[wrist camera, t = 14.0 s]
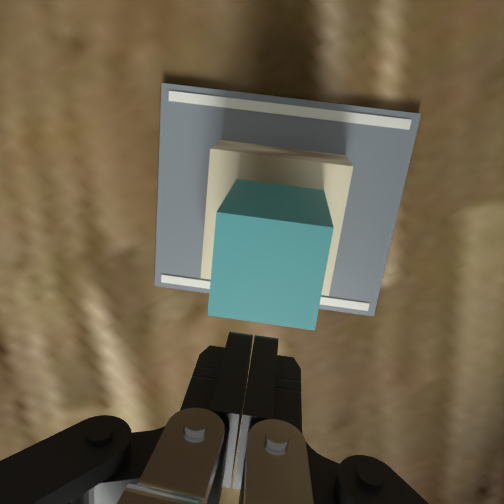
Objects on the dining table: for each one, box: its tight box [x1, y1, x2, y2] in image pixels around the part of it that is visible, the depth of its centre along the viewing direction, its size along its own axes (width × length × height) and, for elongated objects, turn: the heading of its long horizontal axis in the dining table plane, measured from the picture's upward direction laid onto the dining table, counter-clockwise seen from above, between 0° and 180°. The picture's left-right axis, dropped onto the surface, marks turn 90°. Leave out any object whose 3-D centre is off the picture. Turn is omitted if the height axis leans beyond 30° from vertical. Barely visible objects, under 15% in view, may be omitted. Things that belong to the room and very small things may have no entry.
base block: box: [201, 140, 353, 296], centre depth 28 cm, size 8×8×4 cm
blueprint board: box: [155, 83, 421, 316], centre depth 31 cm, size 16×14×1 cm
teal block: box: [208, 179, 334, 330], centre depth 23 cm, size 5×5×7 cm
